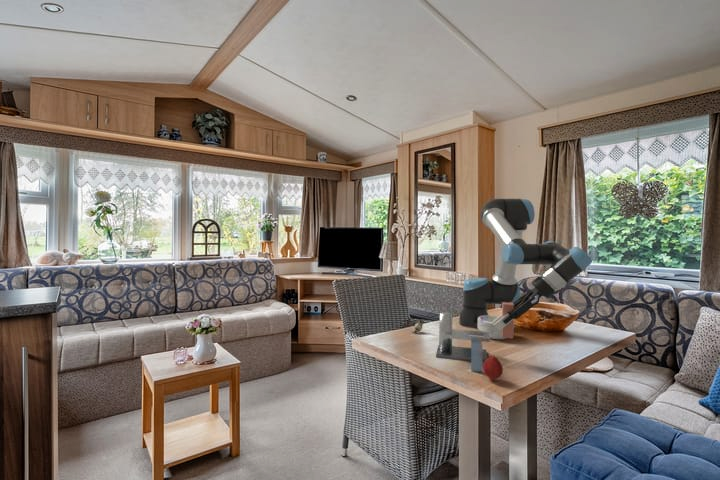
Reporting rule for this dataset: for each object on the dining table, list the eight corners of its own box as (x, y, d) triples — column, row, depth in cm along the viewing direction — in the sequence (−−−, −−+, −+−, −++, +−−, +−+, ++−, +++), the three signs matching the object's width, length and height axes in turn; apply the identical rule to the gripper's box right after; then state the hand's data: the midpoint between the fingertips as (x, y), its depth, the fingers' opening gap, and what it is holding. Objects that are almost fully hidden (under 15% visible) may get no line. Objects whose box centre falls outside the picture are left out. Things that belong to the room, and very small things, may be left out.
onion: (486, 374, 114) (487, 350, 114) (504, 379, 110) (505, 354, 110) (479, 380, 109) (480, 354, 109) (498, 385, 106) (499, 359, 105)
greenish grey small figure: (416, 330, 167) (418, 317, 166) (426, 333, 163) (427, 320, 162) (409, 332, 163) (411, 319, 162) (419, 335, 159) (420, 322, 159)
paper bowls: (517, 342, 149) (518, 324, 149) (480, 340, 151) (480, 322, 151) (508, 332, 164) (508, 315, 164) (474, 331, 167) (475, 314, 166)
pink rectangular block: (511, 335, 128) (512, 302, 128) (513, 338, 125) (513, 304, 124) (501, 334, 129) (502, 302, 129) (502, 337, 126) (503, 304, 125)
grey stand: (487, 352, 136) (488, 313, 136) (491, 373, 115) (492, 327, 115) (438, 347, 141) (439, 309, 141) (433, 366, 120) (434, 322, 120)
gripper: (562, 295, 114) (506, 341, 119) (550, 287, 130) (501, 328, 135) (544, 278, 115) (489, 324, 121) (535, 272, 131) (487, 313, 136)
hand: (496, 326), depth 128 cm, fingers closed on pink rectangular block, 3 cm apart
